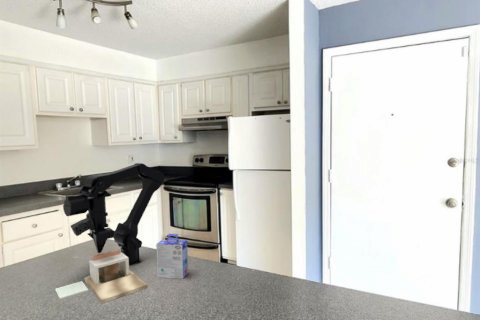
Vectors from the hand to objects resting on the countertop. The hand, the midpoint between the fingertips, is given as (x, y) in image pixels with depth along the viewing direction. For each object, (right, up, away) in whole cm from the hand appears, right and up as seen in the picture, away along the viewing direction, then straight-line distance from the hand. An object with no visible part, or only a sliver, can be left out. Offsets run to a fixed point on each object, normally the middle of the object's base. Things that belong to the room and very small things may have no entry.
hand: (99, 252), depth 111 cm
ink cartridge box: (+27, -8, -2) cm, 28 cm away
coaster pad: (-3, -9, -12) cm, 15 cm away
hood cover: (+6, -7, -5) cm, 10 cm away
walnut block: (+6, -8, -4) cm, 11 cm away
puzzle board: (+9, -8, -8) cm, 15 cm away
